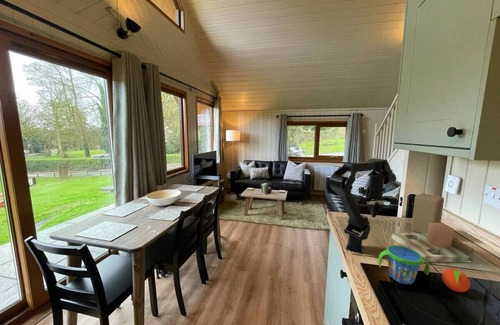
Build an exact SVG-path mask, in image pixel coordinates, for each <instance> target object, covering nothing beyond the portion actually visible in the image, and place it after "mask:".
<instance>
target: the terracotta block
mask: <svg viewBox="0 0 500 325" xmlns="http://www.w3.org/2000/svg"><path fill="white" fill-rule="evenodd" d="M454 232H455V228H454V227H452V226H449V225H448V224H446V223H443V222H441V223H429V227H428V234H427V241H428V242H430V243H431V244H433V245H435V246H436V247H442V248H451V245H452V239H453V238H454Z"/></svg>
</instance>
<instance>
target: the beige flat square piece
mask: <svg viewBox="0 0 500 325" xmlns="http://www.w3.org/2000/svg"><path fill="white" fill-rule="evenodd" d="M391 239H392V240H394V241H395V242H396V243H398V244H399V246H402V247H406V248H409V249H411V250H414V251H416V252H417V253H419V254H420V255H421V256H422V257H424V258H425V259H426V260H427V262H428V263H468V262H467V261H473V256H474V252H475V249H474V248H473V247H471V246H469V245H467V244H465V243H464V242H462V241H459V240H458V239H457V238H456V239H455V238H454V237H453V239H452V245H451V248H442V247H436V246H435V245H433V244H431V243H430V242H428V241H427V234H421V233H391ZM423 262H424V263H426V262H425V261H424V260H423ZM423 262H422V263H423Z"/></svg>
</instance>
